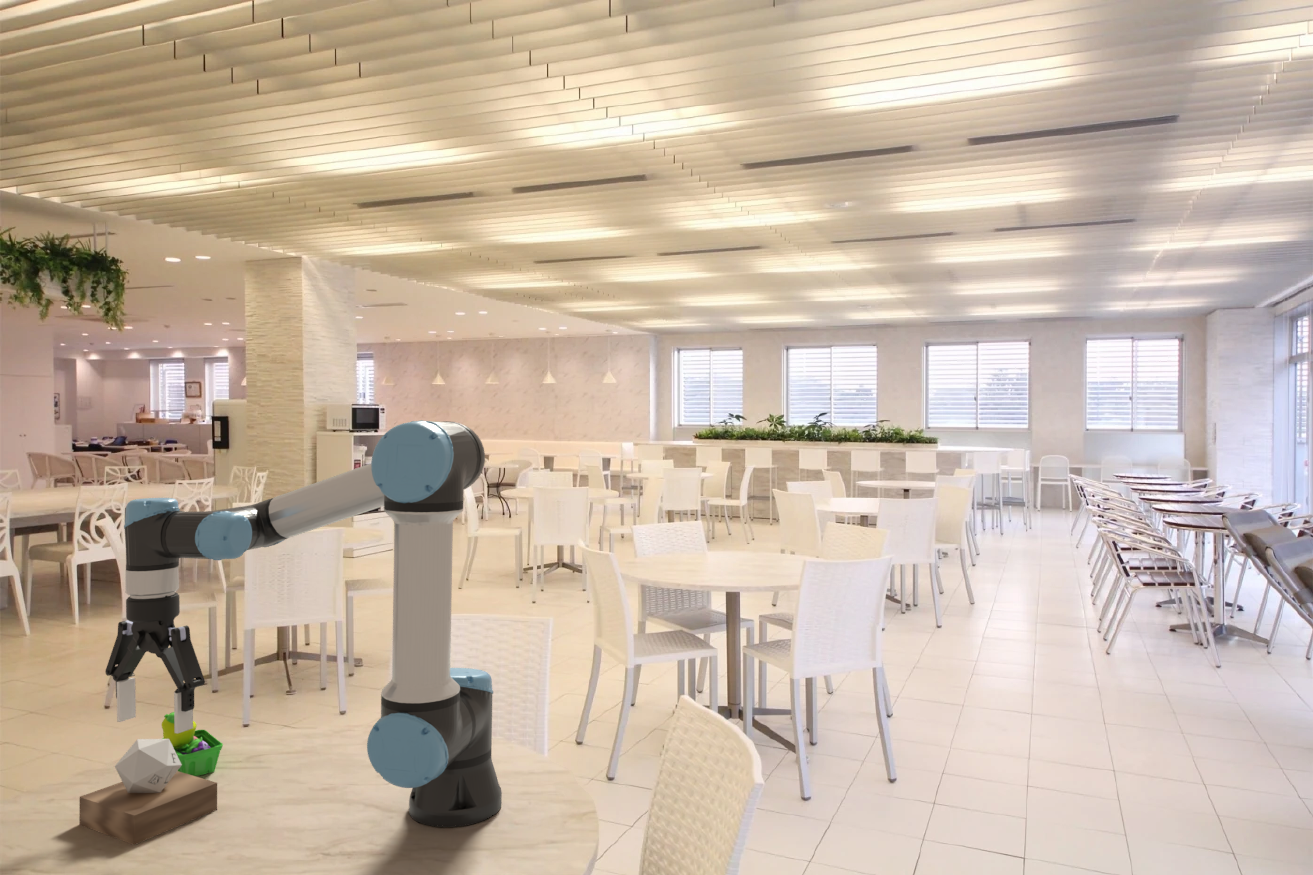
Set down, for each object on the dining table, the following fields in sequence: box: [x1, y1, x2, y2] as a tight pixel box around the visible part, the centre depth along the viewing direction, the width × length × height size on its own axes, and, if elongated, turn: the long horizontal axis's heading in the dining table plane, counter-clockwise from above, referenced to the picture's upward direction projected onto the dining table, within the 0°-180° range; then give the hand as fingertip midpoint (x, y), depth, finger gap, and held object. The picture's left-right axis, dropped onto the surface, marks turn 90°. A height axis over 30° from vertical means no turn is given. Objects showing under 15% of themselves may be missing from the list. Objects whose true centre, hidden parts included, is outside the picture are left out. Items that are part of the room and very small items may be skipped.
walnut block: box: [79, 771, 218, 846], centre depth 143 cm, size 14×14×5 cm
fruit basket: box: [161, 711, 224, 777], centre depth 163 cm, size 11×9×11 cm
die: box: [114, 738, 182, 793], centre depth 144 cm, size 8×9×10 cm
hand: (154, 725), depth 143 cm, fingers open, 13 cm apart
